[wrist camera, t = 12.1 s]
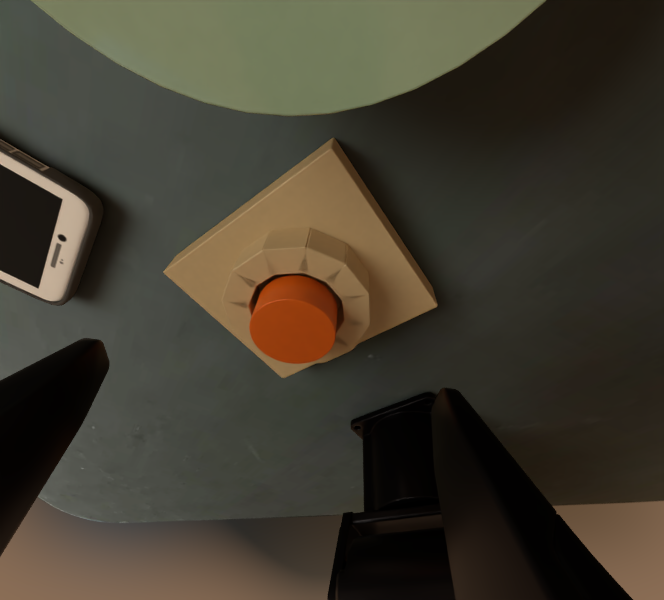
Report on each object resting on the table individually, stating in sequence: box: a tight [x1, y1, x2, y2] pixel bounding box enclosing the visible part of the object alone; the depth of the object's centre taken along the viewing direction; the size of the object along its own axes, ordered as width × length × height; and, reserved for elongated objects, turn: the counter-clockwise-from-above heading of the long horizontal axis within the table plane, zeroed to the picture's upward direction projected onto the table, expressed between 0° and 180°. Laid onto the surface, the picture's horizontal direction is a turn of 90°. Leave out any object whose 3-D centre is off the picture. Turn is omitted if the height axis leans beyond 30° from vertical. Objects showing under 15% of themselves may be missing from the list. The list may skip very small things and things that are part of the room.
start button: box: [249, 275, 338, 364], centre depth 16 cm, size 4×4×2 cm
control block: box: [164, 138, 438, 378], centre depth 17 cm, size 10×9×4 cm
